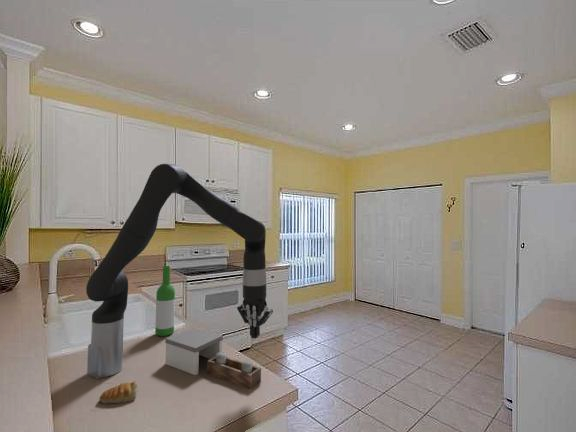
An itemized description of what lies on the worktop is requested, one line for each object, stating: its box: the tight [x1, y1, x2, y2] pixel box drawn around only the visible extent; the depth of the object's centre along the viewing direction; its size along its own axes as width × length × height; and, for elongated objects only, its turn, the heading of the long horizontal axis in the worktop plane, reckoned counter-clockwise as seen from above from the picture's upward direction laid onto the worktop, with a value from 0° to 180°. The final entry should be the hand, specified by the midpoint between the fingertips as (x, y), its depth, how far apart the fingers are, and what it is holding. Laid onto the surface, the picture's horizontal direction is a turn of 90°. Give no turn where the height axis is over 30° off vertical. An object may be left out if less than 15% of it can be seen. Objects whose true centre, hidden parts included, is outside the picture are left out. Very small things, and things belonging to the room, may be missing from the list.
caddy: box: [206, 351, 262, 389], centre depth 99 cm, size 18×6×6 cm, turn 60°
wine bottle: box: [154, 265, 176, 337], centre depth 135 cm, size 8×8×30 cm
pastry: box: [99, 380, 138, 404], centre depth 86 cm, size 9×7×4 cm
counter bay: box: [164, 327, 224, 376], centre depth 108 cm, size 13×15×9 cm
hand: (254, 337), depth 96 cm, fingers closed
